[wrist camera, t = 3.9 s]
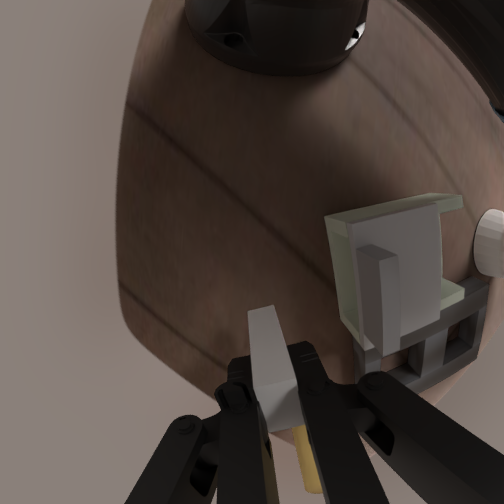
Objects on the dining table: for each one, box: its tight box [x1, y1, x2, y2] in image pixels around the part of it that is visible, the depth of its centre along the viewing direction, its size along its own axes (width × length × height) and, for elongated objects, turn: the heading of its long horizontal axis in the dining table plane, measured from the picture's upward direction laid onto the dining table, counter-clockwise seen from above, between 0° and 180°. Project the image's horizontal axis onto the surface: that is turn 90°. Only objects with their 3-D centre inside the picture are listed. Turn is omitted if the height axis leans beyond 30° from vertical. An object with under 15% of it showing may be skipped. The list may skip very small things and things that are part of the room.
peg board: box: [352, 276, 489, 394], centre depth 22 cm, size 10×16×3 cm, turn 104°
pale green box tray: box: [324, 193, 465, 344], centre depth 19 cm, size 9×11×4 cm
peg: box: [292, 425, 323, 494], centre depth 18 cm, size 4×4×12 cm
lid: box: [347, 203, 441, 357], centre depth 15 cm, size 9×7×4 cm
